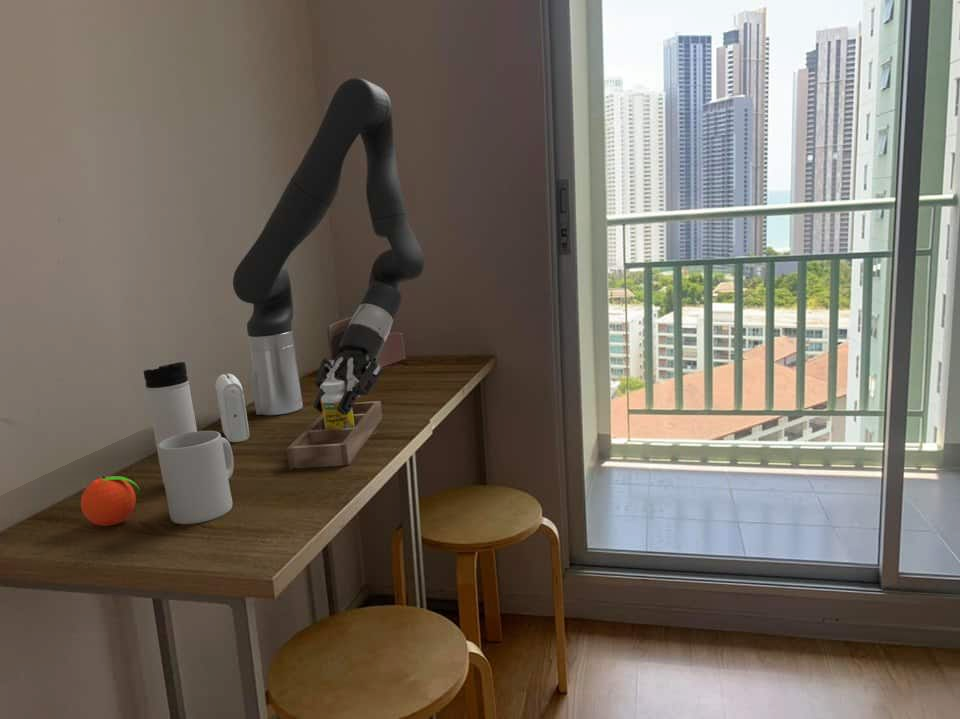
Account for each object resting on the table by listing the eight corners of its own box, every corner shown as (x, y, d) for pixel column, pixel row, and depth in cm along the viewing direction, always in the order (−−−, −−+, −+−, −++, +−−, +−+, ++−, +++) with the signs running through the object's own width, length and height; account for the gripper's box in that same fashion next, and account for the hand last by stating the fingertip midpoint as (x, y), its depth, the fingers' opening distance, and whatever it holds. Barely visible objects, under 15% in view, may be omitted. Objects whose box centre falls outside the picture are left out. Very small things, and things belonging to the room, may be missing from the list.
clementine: (153, 510, 109) (145, 464, 107) (138, 529, 102) (128, 481, 100) (97, 517, 108) (87, 471, 106) (77, 537, 101) (67, 488, 100)
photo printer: (252, 439, 141) (242, 376, 139) (229, 444, 139) (218, 380, 137) (243, 427, 150) (233, 368, 148) (221, 432, 148) (211, 372, 146)
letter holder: (331, 374, 197) (324, 322, 194) (378, 358, 214) (373, 310, 211) (360, 376, 192) (353, 322, 189) (406, 359, 208) (400, 310, 206)
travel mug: (181, 493, 115) (159, 367, 111) (155, 487, 118) (133, 366, 114) (214, 479, 120) (194, 359, 116) (189, 474, 123) (168, 357, 120)
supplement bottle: (356, 427, 138) (350, 377, 136) (354, 436, 132) (347, 384, 130) (327, 430, 137) (320, 380, 135) (323, 439, 132) (316, 387, 130)
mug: (206, 526, 101) (193, 450, 99) (157, 522, 104) (143, 448, 101) (259, 493, 112) (248, 423, 110) (213, 490, 115) (202, 423, 112)
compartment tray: (289, 468, 122) (286, 448, 121) (333, 421, 149) (331, 404, 148) (348, 465, 121) (346, 444, 120) (382, 417, 148) (380, 400, 148)
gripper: (327, 321, 141) (289, 398, 134) (384, 322, 133) (346, 404, 126) (350, 343, 146) (314, 418, 139) (406, 345, 138) (371, 424, 131)
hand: (330, 411), depth 132 cm, fingers closed on supplement bottle, 5 cm apart
